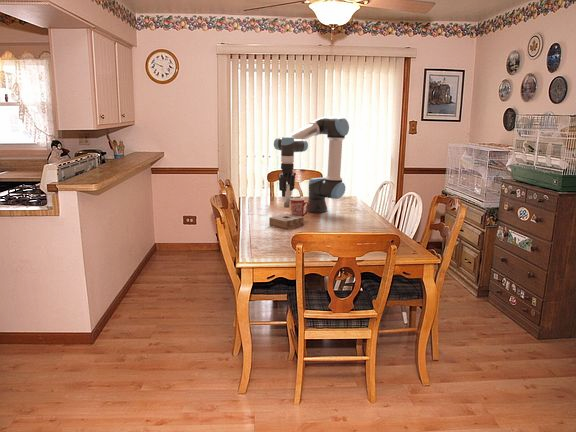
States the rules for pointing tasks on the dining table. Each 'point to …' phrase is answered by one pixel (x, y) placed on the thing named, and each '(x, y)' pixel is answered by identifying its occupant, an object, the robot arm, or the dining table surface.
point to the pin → (286, 204)
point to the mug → (298, 206)
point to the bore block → (286, 221)
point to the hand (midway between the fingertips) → (286, 201)
